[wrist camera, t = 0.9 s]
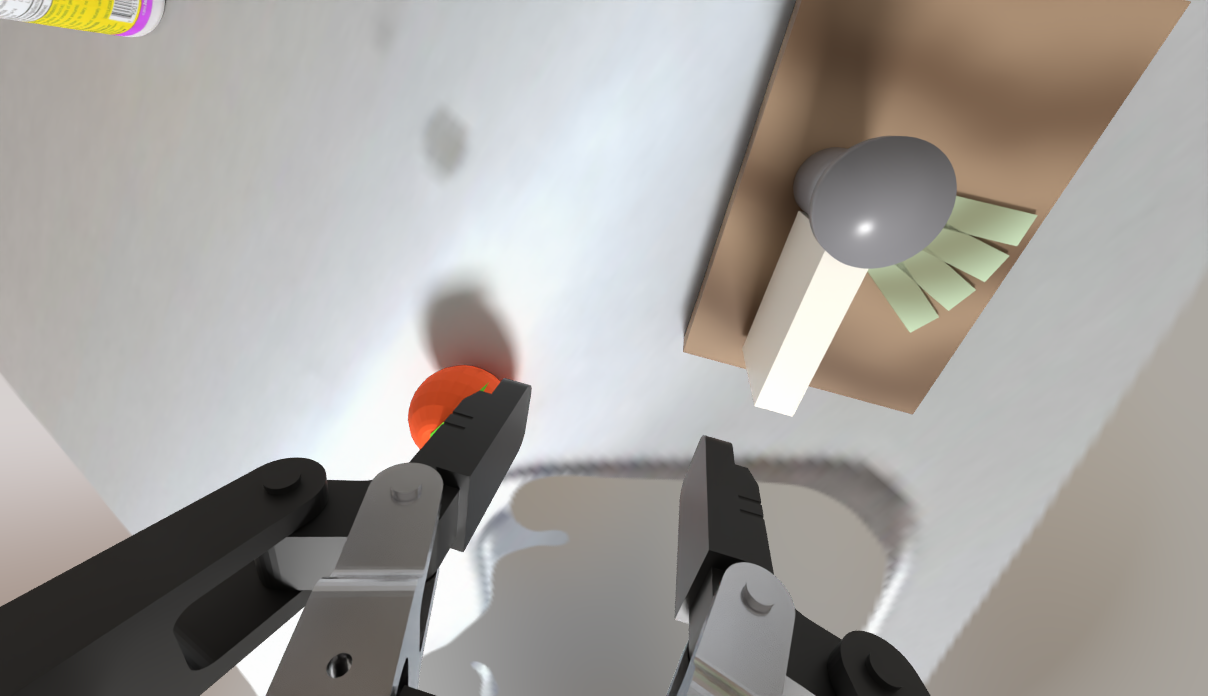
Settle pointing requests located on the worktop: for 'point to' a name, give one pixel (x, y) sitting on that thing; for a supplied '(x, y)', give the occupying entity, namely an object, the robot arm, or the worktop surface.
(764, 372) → the knob
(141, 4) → the supplement bottle
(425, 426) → the clementine
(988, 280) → the board
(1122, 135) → the worktop surface
